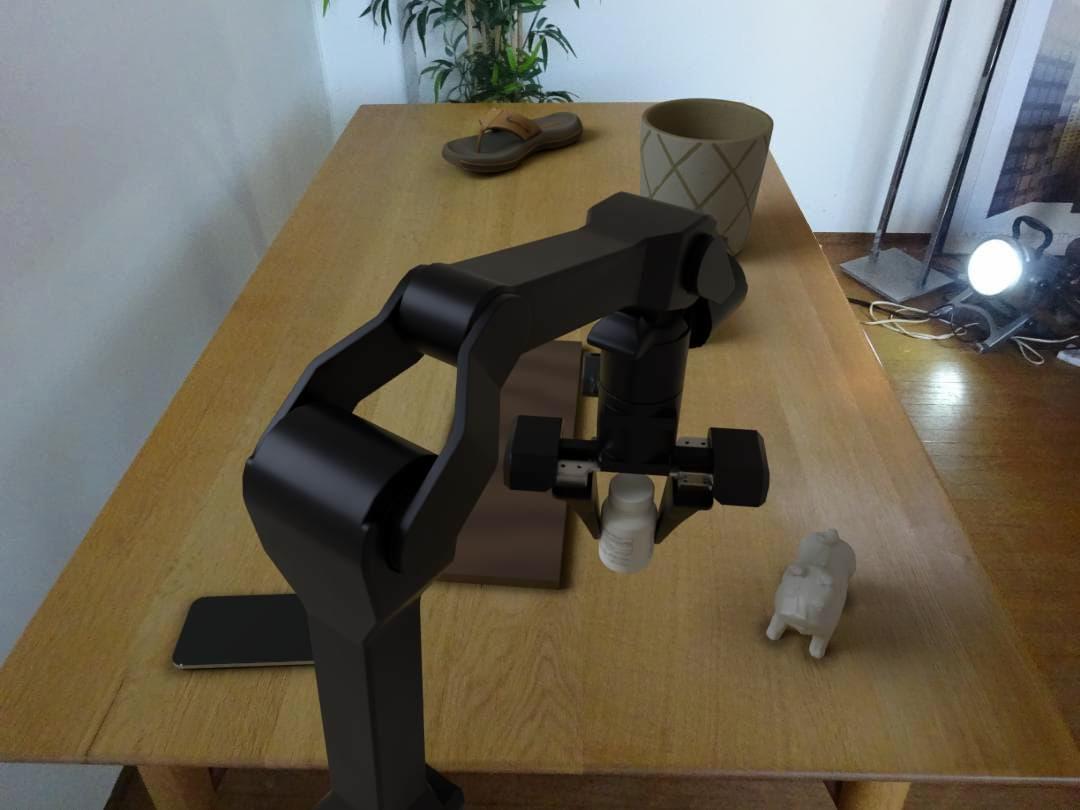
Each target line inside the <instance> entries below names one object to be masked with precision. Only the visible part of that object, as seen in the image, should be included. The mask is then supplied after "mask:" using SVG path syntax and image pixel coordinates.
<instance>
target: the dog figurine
mask: <svg viewBox="0 0 1080 810" xmlns="http://www.w3.org/2000/svg"><path fill="white" fill-rule="evenodd" d="M856 568H857V556H856V553H855V550H854V548H852V546H851V545H850V544H849V543H848V542H846V541H845V540H843V539H841V538H840V535H839V530H837V529H836V528H830V529H827V530H826V531H823V532H822V531H817V532H810V533H809V534H807V535H806V536H804V537H803V539H802V540H801V541H800V544H799V546H798V550H797V553H796V559H795V560H794V561H793V563H789V565H788V566H787V568H786V570H785V571H784V573H783V575H782V578H781V583H780V584H779V585H778V587H777V589H776V592H775V594H774V608H775V612H774V614H773V616H772V618H771V620H770V623H769V625H768V627H767V629H766V636H767V637H768V638H769V639H770V640H772V641H778V640H779V639H781V637H782V635H783V633H784V632H785V631H786V630H787V628H788V626H790V627H792V628H793V629H795V630H797V631H798V632H799V634H800V635H804V636H807V635H809V636H812V639H811V641H810V644H809V649H808V651H809V655H810V656H812V657H813V658H816V659H821V658H823V657H824V656H825V652H826V649H827V647H828V644H829V642H830V641H829V640H830V639H831V637H832V636H833V633H834V632H835V629H836V628H837V625H838V623H839V621H840V619H841V617H842V613H843V609H844V607H845V603H846V600H847V592H848V589H849V585H850V582H851V579H852V578H853V577H854V575H855V573H856V571H857V570H856Z"/></svg>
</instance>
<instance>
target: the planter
mask: <svg viewBox="0 0 1080 810" xmlns="http://www.w3.org/2000/svg"><path fill="white" fill-rule="evenodd" d="M774 126H775V123H774V119H773V118H772V117H771V116H770V115H769V114H768V113H767V112H765V111H764V110H761V109H760V108H758V107H755V106H753V105H749V104H746V103H743V102H738V101H734V100H729V99H720V98H710V97H709V98H707V97H687V98H677V99H671V100H665V101H661V102H658V103H656V104H653V105H651V106H649V107H648V108H646V109H645V110H644V111H643V112H642V114H641V117H640V149H639V151H640V153H639V154H640V156H639V158H640V159H639V160H640V161H639V165H640V166H639V177H640V178H639V195H640V196H643V197H647V198H651V199H655V200H659V201H663V202H666V203H670V204H674V205H678V206H682V207H685V208H689V209H693V210H697V211H701V212H705V213H708V214H712V215H714V217H715V218H716V220H717V226H716V228H715V230H714V231H713V233H714V234H718V235H721V236H725V237H728V239H729V240H728V247H727V252H728V253H729V254H731V255H732V256H733V257H734V256H735V255H737V254H738V253H740V252H741V251H743V249H745V247H746V245H747V241H748V238H749V234H750V229H751V225H752V221H753V216H754V212H755V209H756V204H757V199H758V195H759V192H760V188H761V183H762V178H763V175H764V170H765V167H766V162H767V157H768V155H769V154H768V153H769V149H770V144H771V141H772V136H773V131H774Z"/></svg>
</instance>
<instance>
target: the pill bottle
mask: <svg viewBox="0 0 1080 810" xmlns="http://www.w3.org/2000/svg"><path fill="white" fill-rule="evenodd" d="M655 491H656V487H655V483H654V482H653V480H652V479H651V478H650V477H649V475H641V474H626V473H615V475H613V476H612V478H610V481H609V484H608V492H607V496H606V497H605V498H604V500H603V501H602V504H601V507H600V533H599V540H598V556H599V558H600V560H601V563H602V564H603V565H604V566H606V567H607V568H608V569H609V570H611V571H612V572H616V573H618V574H622V575H632V574H633V575H634V574H637V573H640V572H642V571H644V570H645V569H646V568H648V567H649V566H650V564H651V563H652V561H653V557H654V552H655V551H654V550H655V543H654V541H655V533H656V526H657V517H658V507H657V504H656V502H655Z"/></svg>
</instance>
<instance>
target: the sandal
mask: <svg viewBox="0 0 1080 810" xmlns="http://www.w3.org/2000/svg"><path fill="white" fill-rule="evenodd" d="M484 112H485V114H483V115H481V116H480V117H478V122H479V124H480V127H479V132H478V134H474V135H469V136H464V137H460V138H459V137H458V138H457V139H453V140H450V141H447V142H445V143H444V144H443V146H442V149H441V156H442V158H443V159H444V160H445V161H446V162H447V163H449V164H451V165H453V166H456V167H457V168H460V169H463V170H466V171H470V172H476V173H498V172H503V171H507V170H510V169H514V168H516V167H517V166H518V165H520V164H521V162H522V161H524V160H525V158H527V157H528V156H530V155H531V154H534V153H535V152H538V151H542V150H545V149H546V150H549V149H558V148H562V147H566V146H568V145H571V144H572V143H574V142H576V141H577V140H579V139H581V137H582V135H583V133H584V126H583V123H582V119H581V118H580V117H579V116H578V115H577V114H575V113H573V112H570V111H558V112H553V113H551V114H548V115H545V116H541V117H538V118H537V117H536V118H530V119H529V118H527V117H526V116H524V115H522V114H519V113H516V112H513V111H509V110H504V109H500V108H498V107H496V106H495V107H493V108H492V109H490V110H489V111H488V110H485V111H484Z"/></svg>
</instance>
